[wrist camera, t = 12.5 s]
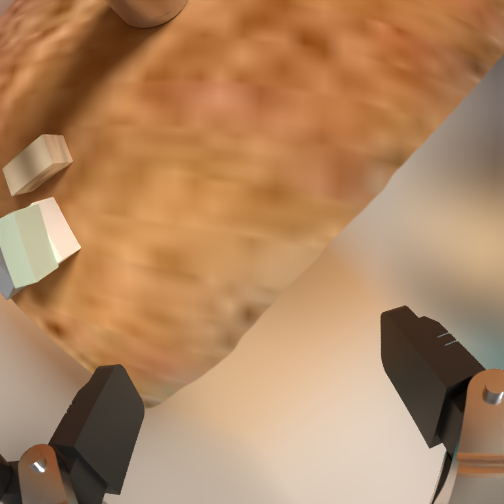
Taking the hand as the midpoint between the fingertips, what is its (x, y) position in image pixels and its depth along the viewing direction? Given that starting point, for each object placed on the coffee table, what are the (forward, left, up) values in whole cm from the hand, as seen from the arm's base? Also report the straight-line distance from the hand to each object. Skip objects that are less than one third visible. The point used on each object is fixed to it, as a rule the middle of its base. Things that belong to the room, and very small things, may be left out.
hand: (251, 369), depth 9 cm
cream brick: (-4, -25, -28) cm, 38 cm away
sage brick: (-4, -25, -23) cm, 34 cm away
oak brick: (-13, -24, -28) cm, 39 cm away
